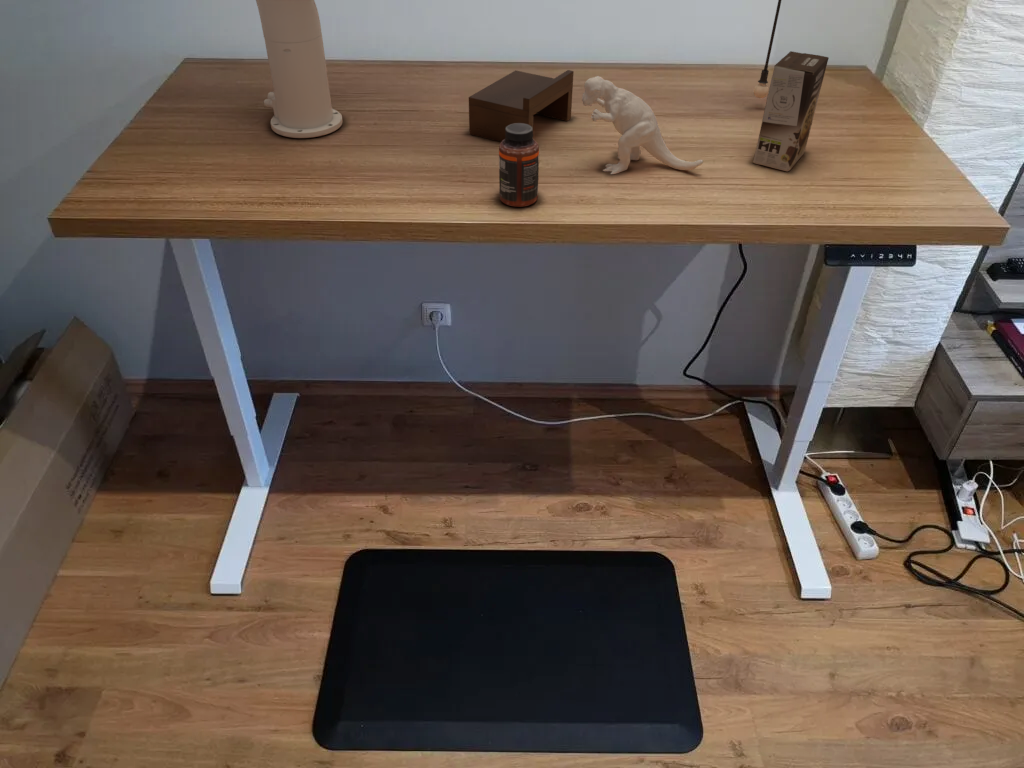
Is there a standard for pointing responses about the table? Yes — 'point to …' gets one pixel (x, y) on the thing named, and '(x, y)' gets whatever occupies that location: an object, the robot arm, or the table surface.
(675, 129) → the table surface
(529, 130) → the supplement bottle
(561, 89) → the stand
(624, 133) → the dinosaur figurine
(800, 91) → the coffee box
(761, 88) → the light fixture
